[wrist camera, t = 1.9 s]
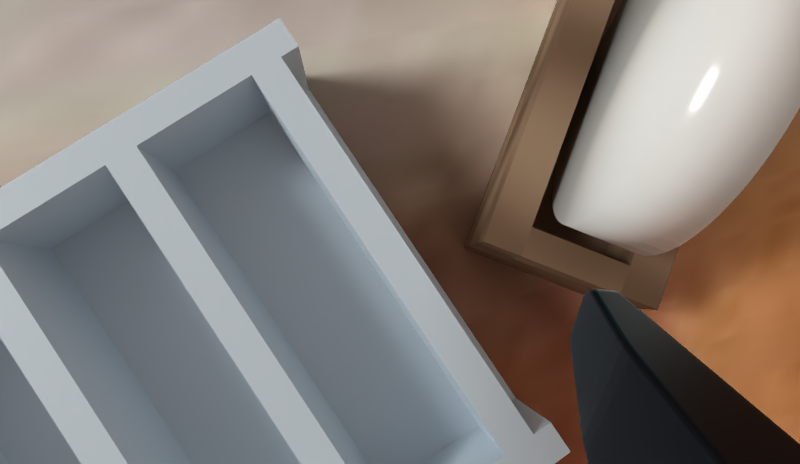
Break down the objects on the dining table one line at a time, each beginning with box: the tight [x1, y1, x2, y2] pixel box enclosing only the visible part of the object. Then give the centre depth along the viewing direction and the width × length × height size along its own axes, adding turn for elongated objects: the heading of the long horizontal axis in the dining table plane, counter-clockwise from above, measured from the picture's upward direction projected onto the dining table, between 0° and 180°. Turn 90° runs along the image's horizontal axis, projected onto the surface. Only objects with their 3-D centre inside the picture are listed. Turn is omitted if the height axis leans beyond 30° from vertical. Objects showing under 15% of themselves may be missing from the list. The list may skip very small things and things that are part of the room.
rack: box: [0, 18, 570, 464], centre depth 20 cm, size 15×17×5 cm
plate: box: [552, 0, 800, 256], centre depth 18 cm, size 2×10×10 cm, turn 159°
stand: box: [465, 0, 679, 310], centre depth 23 cm, size 13×6×4 cm, turn 159°
